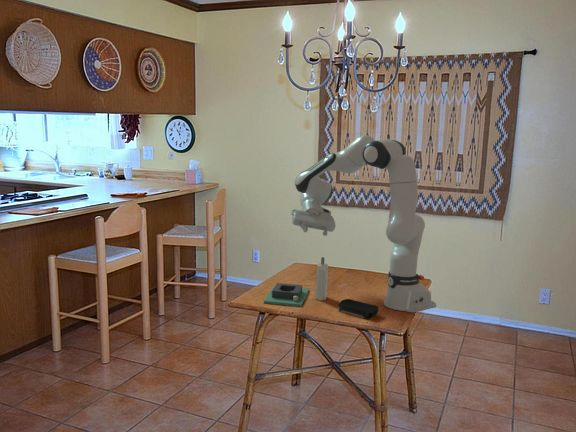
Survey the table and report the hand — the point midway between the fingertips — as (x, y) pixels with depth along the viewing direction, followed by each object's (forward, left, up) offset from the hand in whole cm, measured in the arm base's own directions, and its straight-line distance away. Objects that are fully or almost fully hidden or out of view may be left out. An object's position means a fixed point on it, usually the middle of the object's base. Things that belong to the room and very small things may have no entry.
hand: (315, 233), depth 233 cm
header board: (+15, +4, -27) cm, 31 cm away
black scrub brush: (-5, +31, -28) cm, 42 cm away
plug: (+1, +10, -27) cm, 29 cm away
